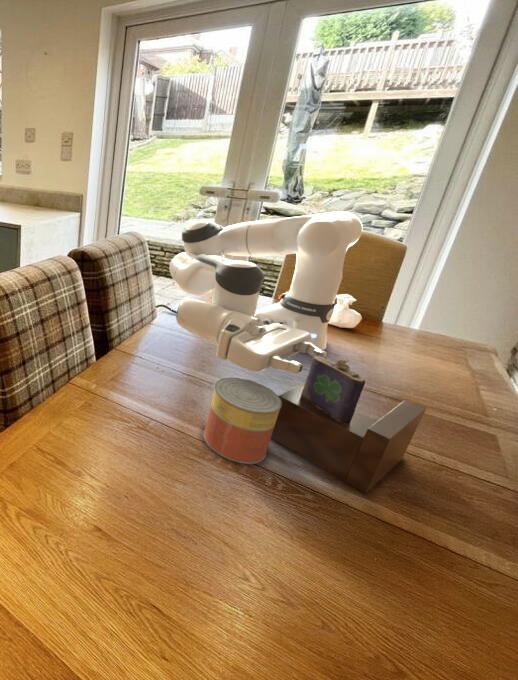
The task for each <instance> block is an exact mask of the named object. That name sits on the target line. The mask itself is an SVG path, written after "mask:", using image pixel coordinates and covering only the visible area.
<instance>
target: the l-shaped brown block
mask: <svg viewBox="0 0 518 680" xmlns="http://www.w3.org/2000/svg"><path fill="white" fill-rule="evenodd" d="M303 388H304V386H303V385H302V384H297V385H295V386H293V387H292V388H290V389H288V390H286V391H284V392H282V393H280V394H279V395H278V396H279V398H280V399H281V401H282V406H281V408H280V410H279V413H278V417H277V420H276V423H275V426H274V429H273V432H272V436H271V439H270V440H273V441H275V442H276V443H278V444H280V445H282V446H283V447H285V448H287V449H289V450H290V451H292V452H294V453H295V454H297V455H299V456H300V457H302V458H304V459H305V460H307V461H309V462H311V463H312V464H314V465H316V466H318V468H321V469H322V470H324V471H326V472H328V473H329V474H330V475H333V476H334V477H336V478H338V479H339V480H342V481H343V482H344V483H346V484H348V485H350V486H351V487H353V488H355V489H356V490H358V491H360V492H362V493H363V494H366V493H368V492H369V491H370V490H371V489H372V488H373V487H374V486H375V485H376V484H378V482H379V481H381V479H383V478H384V477H385V476H386V475H387V474H388V473H389V472H390V471H391V470H392V469H394V467H395V466H397V465H398V464H399V462H401V461H402V460H403V458H404V456H405V454H406V452H407V449H408V447H409V445H410V443H411V441H412V439H413V437H414V435H415V433H416V431H417V429H418V427H419V425H420V424H421V423H420V422H421V421H422V418H423V416H424V415H425V412H426V410H427V408H426V407H423V406H421V405H418V404H416V403H413V402H411V401H409V400H406V399H405V400H403V401H402V402H401V403H398V405H397V406H395V407H394V408H392V409H391V410H390V411H388V412H387V413H386V414H385V415H384V416H382V417H381V418H380V419H377V418H375V417H372V416H370V415H367V414H366V413H363V412H361V411H358V410H356V409H355V412H354V415H353V417H352V419H351V422H350V423H348V424H345V423H342V422H340V421H337V420H336V419H335V418H333V417H331V415H329V414H327V413H325V411H324V410H321V409H319V408H317V407H316V406H314V405H313V404H312V403H311V402H309V401H306V400H305V399H304V398H303V397H302V396H301V394H302V390H303Z"/></svg>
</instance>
